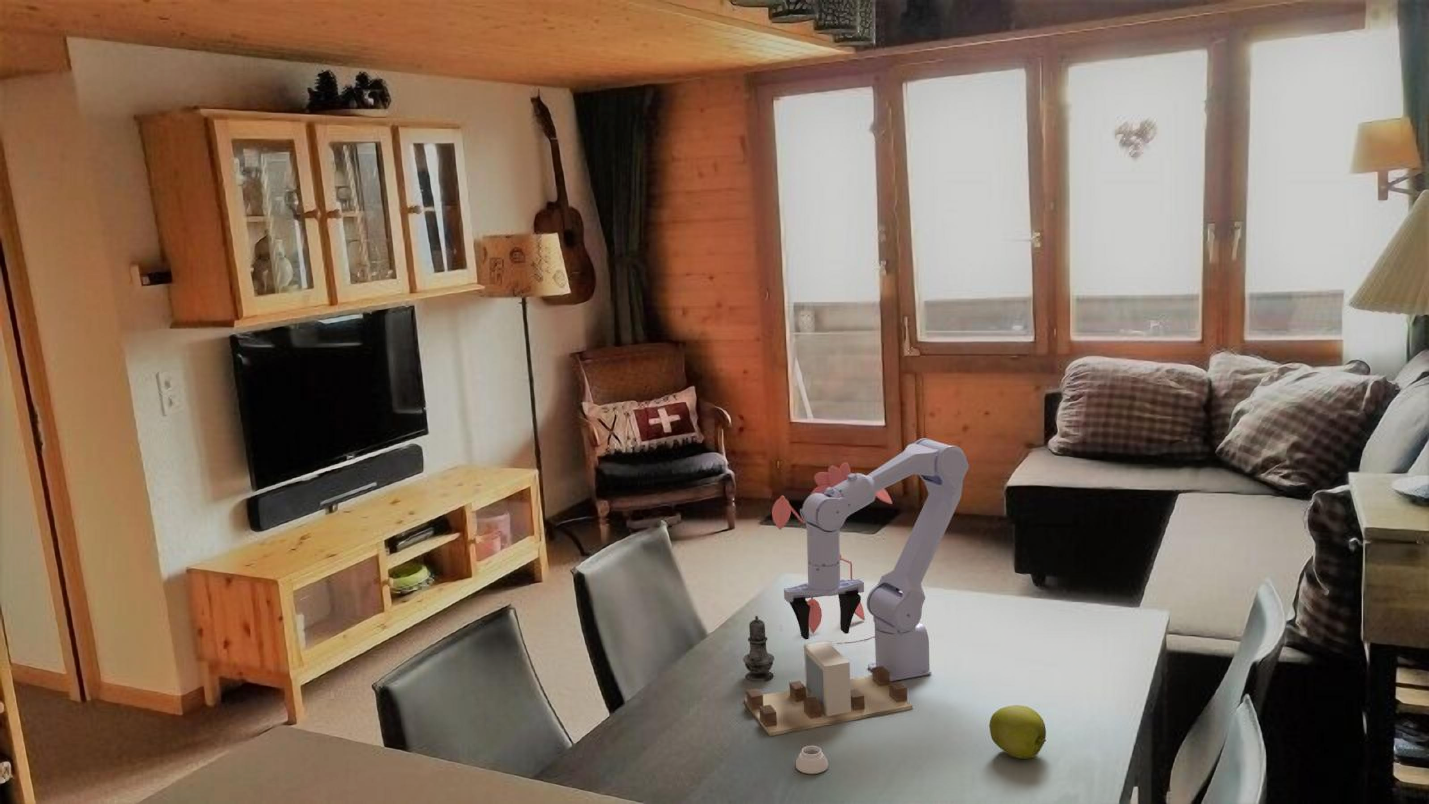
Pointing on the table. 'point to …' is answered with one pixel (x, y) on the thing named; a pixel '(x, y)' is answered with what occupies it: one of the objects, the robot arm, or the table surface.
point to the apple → (1018, 731)
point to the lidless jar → (811, 760)
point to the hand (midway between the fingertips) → (824, 634)
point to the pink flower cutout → (782, 516)
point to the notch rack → (805, 712)
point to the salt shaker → (758, 654)
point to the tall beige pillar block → (827, 678)
